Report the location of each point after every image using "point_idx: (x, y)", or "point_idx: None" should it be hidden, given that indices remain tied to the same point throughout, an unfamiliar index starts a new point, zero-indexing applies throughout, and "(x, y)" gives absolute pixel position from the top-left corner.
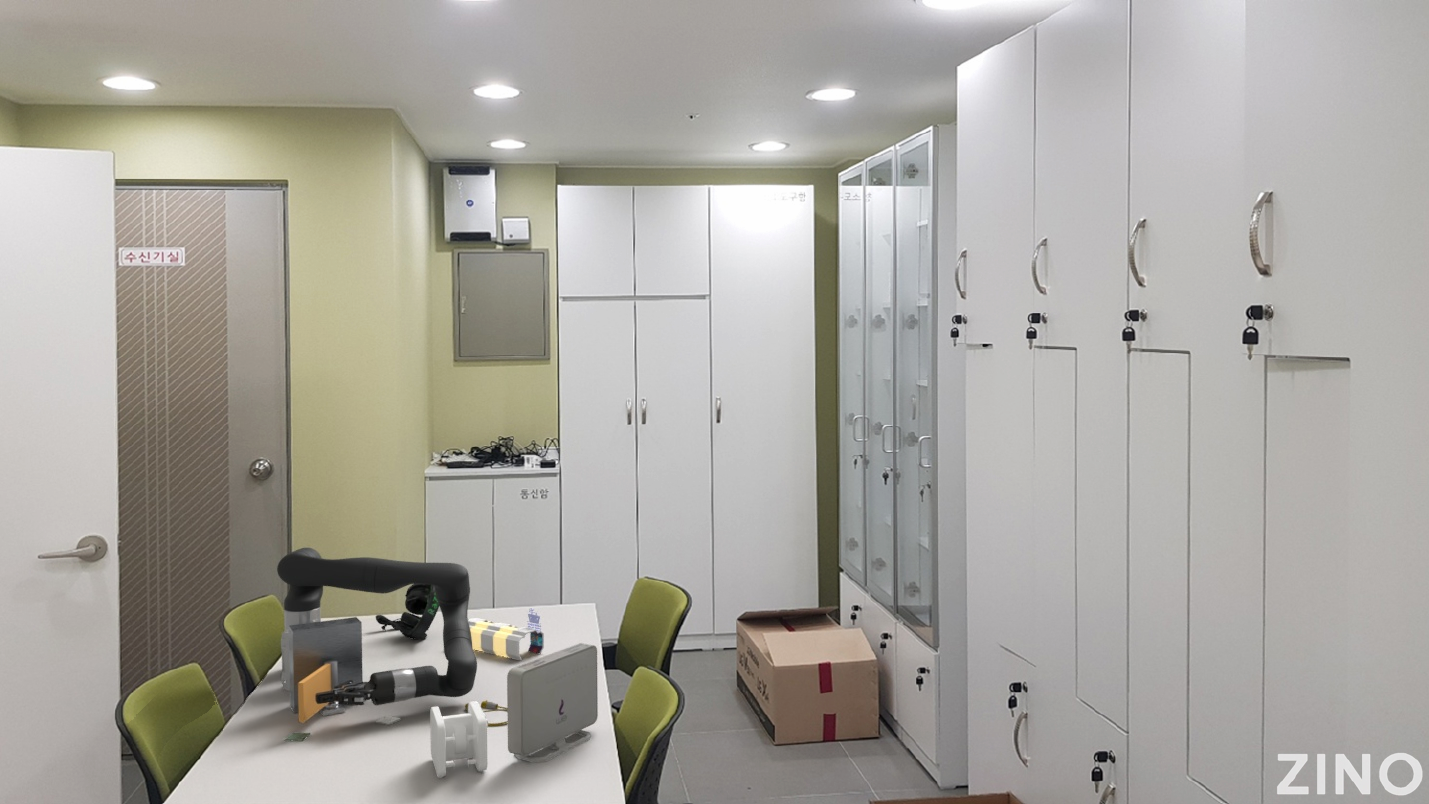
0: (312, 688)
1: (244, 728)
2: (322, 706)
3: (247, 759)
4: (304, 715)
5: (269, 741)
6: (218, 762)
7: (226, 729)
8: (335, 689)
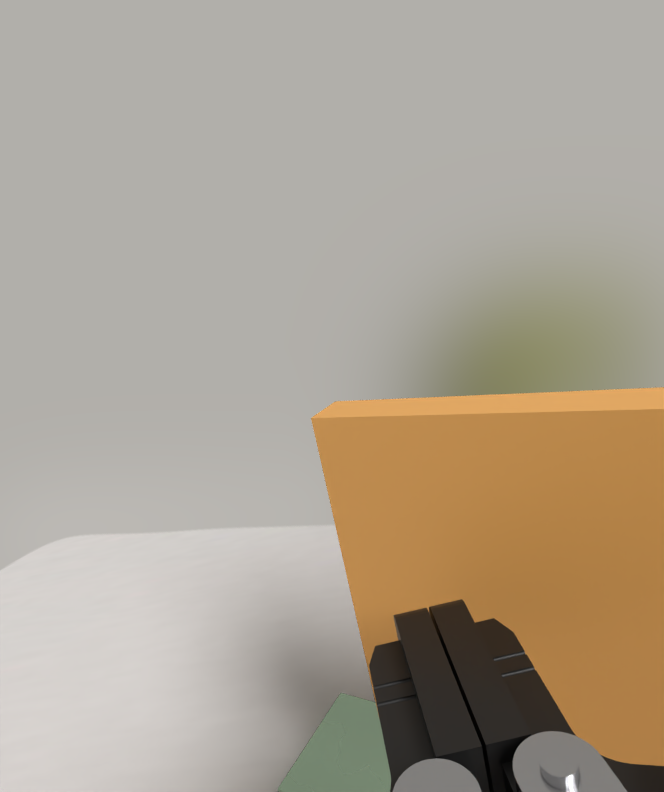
0: (521, 534)
1: None
2: None
3: (186, 606)
4: None
5: None
6: (225, 546)
7: None
8: (543, 771)
